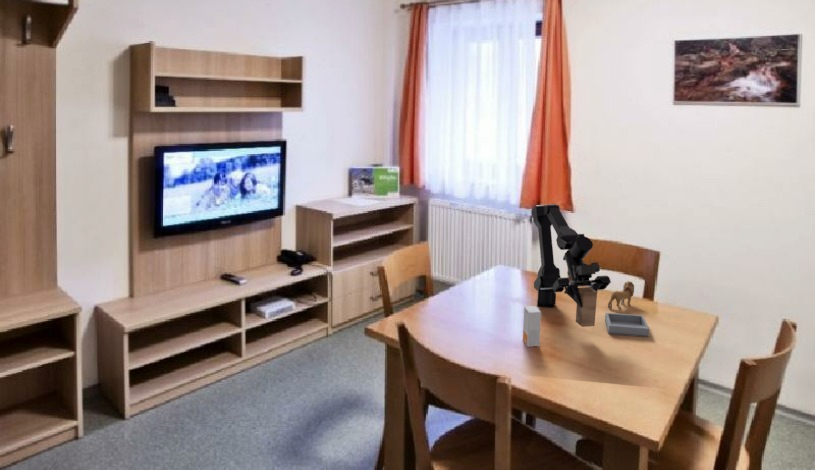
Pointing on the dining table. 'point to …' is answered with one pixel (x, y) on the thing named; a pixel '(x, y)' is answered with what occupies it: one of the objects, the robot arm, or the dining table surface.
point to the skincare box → (531, 326)
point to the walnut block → (586, 307)
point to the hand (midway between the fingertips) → (588, 306)
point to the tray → (626, 324)
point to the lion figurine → (622, 295)
